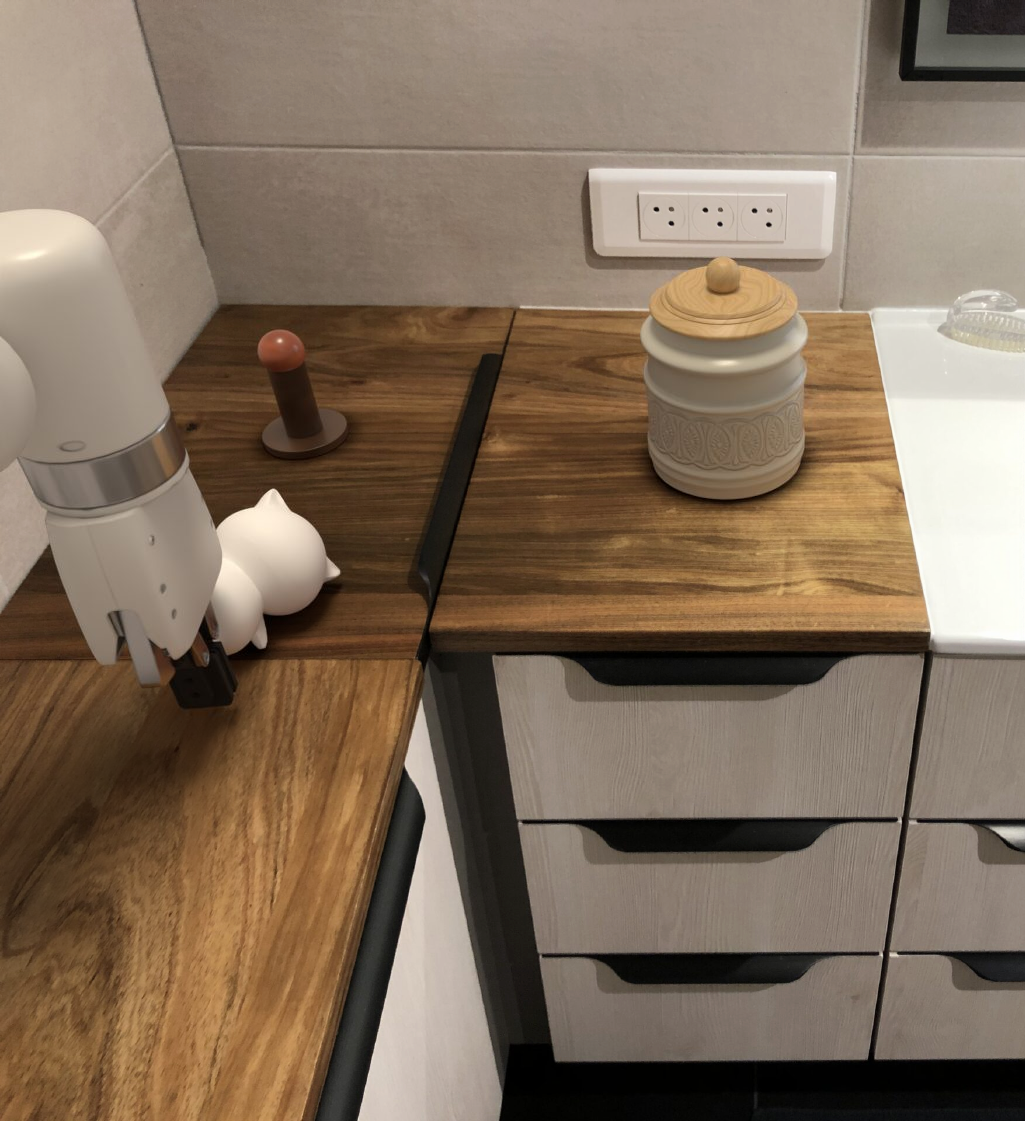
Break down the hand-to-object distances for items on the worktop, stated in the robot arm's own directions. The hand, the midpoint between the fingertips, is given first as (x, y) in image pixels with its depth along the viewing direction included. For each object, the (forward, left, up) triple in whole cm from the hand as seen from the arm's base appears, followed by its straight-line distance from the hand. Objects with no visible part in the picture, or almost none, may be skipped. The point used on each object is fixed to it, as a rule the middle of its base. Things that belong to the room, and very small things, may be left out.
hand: (210, 697), depth 71 cm
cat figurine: (+5, +8, -2) cm, 9 cm away
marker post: (+18, +28, -2) cm, 33 cm away
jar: (+43, +2, -2) cm, 43 cm away
